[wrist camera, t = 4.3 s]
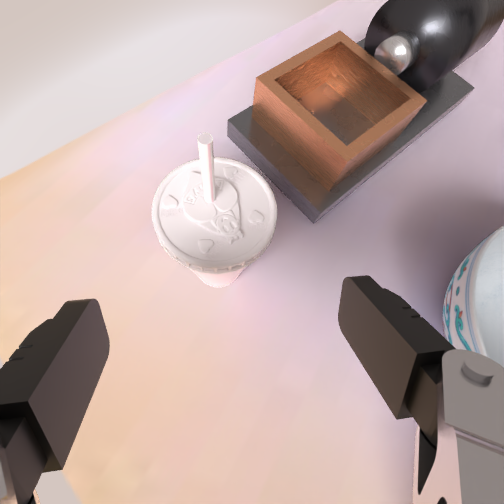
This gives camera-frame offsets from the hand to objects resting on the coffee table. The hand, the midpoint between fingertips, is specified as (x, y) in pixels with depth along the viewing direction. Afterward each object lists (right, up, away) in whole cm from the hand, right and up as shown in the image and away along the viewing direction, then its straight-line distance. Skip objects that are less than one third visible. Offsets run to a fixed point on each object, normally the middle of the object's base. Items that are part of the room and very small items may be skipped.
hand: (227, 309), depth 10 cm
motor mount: (+11, +16, +21) cm, 29 cm away
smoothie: (-2, +1, +14) cm, 14 cm away
